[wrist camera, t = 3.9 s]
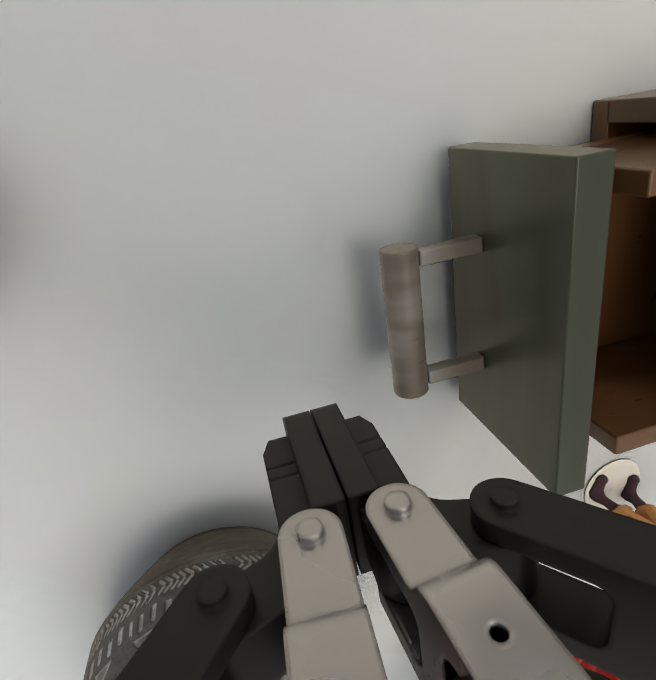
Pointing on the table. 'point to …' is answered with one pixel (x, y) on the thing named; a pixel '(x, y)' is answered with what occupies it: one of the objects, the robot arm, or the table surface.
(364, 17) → the table surface
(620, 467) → the action figure
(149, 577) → the planter
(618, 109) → the cabinet
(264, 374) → the table surface
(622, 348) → the drawer
